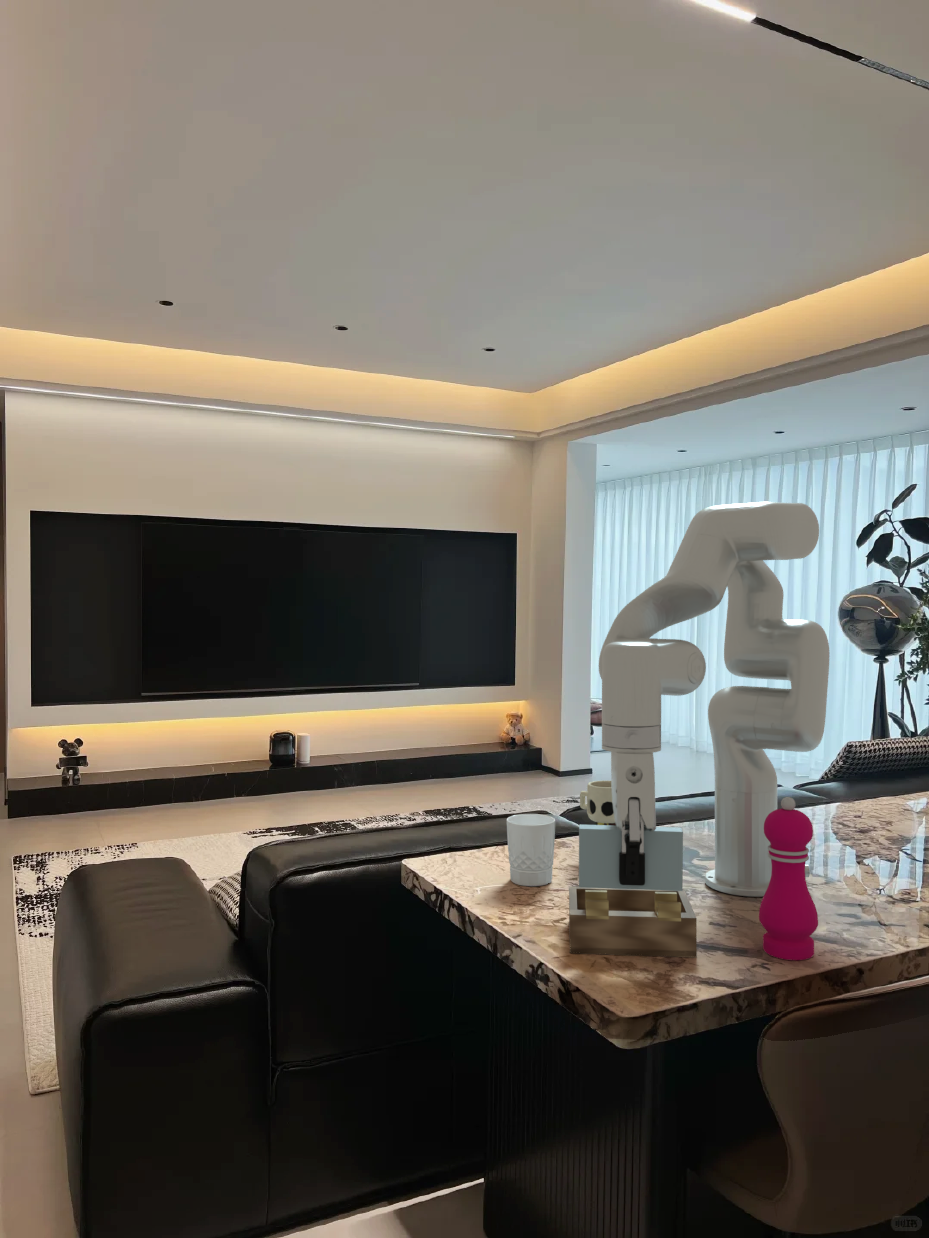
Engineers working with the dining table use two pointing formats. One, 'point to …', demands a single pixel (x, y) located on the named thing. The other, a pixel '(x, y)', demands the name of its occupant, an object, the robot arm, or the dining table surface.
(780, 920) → the pepper mill
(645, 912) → the carcass
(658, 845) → the door
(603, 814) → the character mug
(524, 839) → the white cup
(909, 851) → the dining table surface
